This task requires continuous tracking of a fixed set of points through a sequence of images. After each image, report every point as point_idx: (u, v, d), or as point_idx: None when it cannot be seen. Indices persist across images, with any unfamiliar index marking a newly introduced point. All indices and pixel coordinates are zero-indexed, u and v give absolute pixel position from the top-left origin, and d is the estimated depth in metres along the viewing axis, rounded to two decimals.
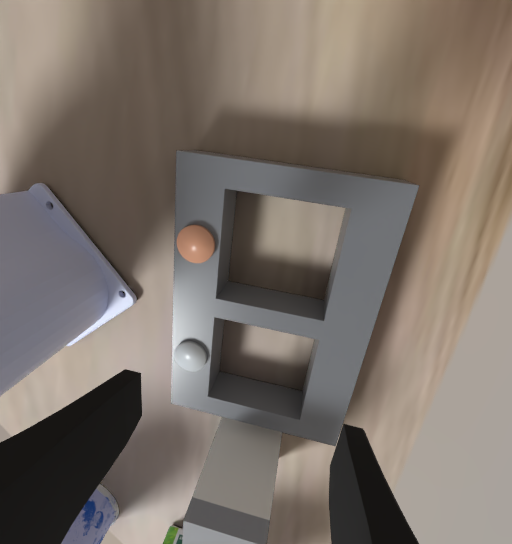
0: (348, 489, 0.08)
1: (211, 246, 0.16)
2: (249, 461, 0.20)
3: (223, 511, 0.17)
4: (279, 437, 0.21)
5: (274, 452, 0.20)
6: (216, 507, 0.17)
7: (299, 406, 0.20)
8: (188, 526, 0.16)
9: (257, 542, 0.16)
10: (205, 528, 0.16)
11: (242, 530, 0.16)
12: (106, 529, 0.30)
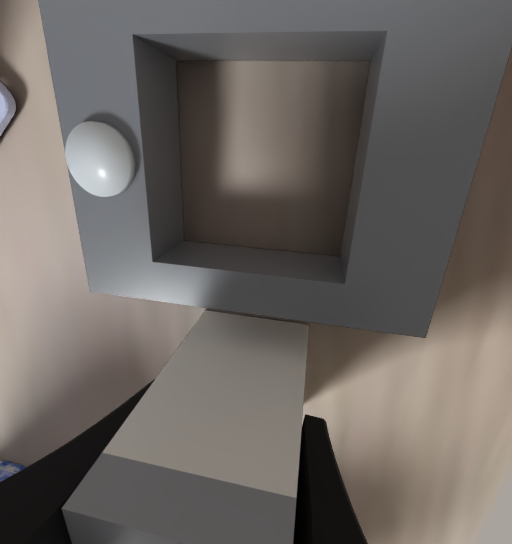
0: (303, 476, 0.08)
1: None
2: (245, 383, 0.09)
3: (175, 481, 0.07)
4: (303, 347, 0.11)
5: (296, 368, 0.10)
6: (158, 471, 0.07)
7: (339, 270, 0.10)
8: (78, 524, 0.06)
9: None
10: (120, 528, 0.06)
11: (222, 527, 0.06)
12: None
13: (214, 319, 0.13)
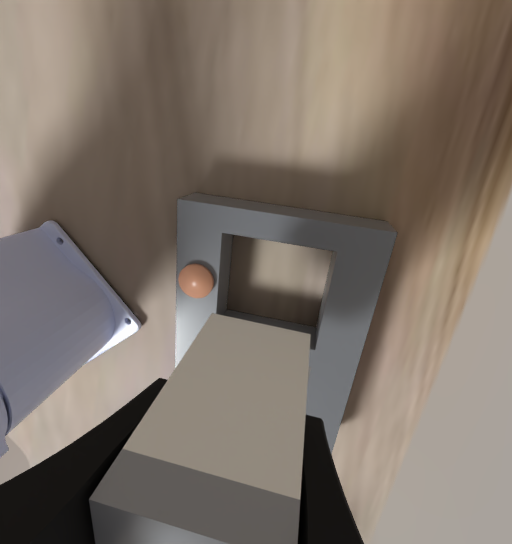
0: None
1: (210, 283, 0.17)
2: (252, 389, 0.10)
3: (191, 479, 0.07)
4: (305, 356, 0.12)
5: (299, 377, 0.11)
6: (175, 469, 0.07)
7: None
8: (103, 513, 0.07)
9: None
10: (142, 519, 0.06)
11: (235, 523, 0.06)
12: None
13: (220, 322, 0.13)
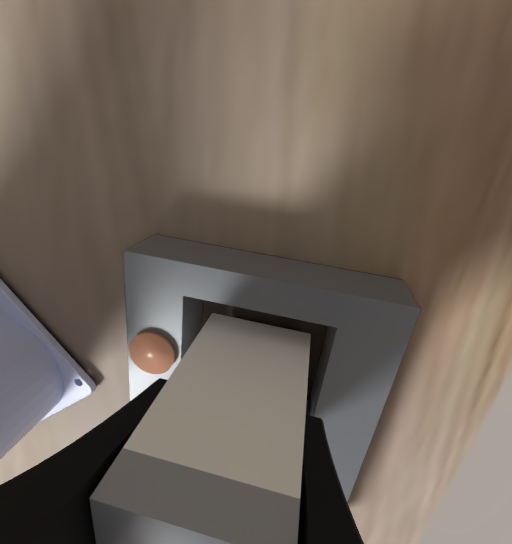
0: None
1: (170, 358, 0.13)
2: (252, 388, 0.10)
3: (191, 478, 0.07)
4: (305, 356, 0.12)
5: (299, 377, 0.11)
6: (175, 468, 0.07)
7: None
8: (103, 512, 0.07)
9: None
10: (142, 518, 0.06)
11: (235, 522, 0.06)
12: None
13: (220, 322, 0.13)
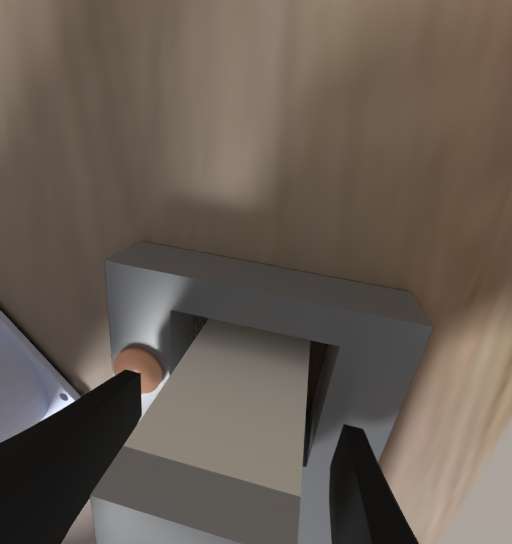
0: (348, 489, 0.08)
1: (157, 376, 0.12)
2: (252, 387, 0.10)
3: (191, 476, 0.07)
4: (305, 356, 0.12)
5: (299, 376, 0.11)
6: (176, 466, 0.07)
7: None
8: (103, 510, 0.07)
9: None
10: (142, 515, 0.06)
11: (235, 519, 0.06)
12: None
13: (221, 322, 0.13)
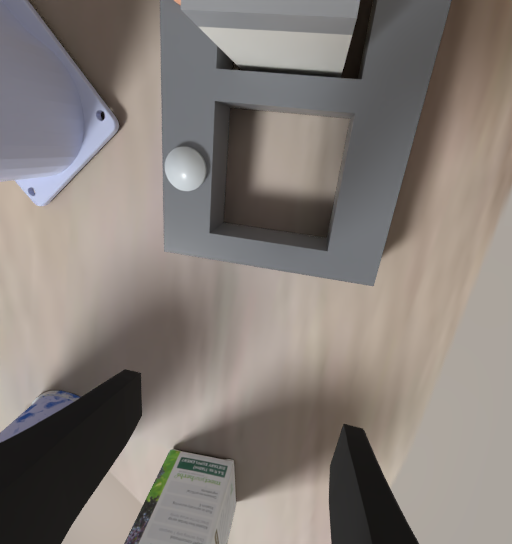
0: (348, 489, 0.08)
1: None
2: None
3: None
4: None
5: None
6: None
7: (325, 244, 0.16)
8: None
9: None
10: None
11: None
12: None
13: None
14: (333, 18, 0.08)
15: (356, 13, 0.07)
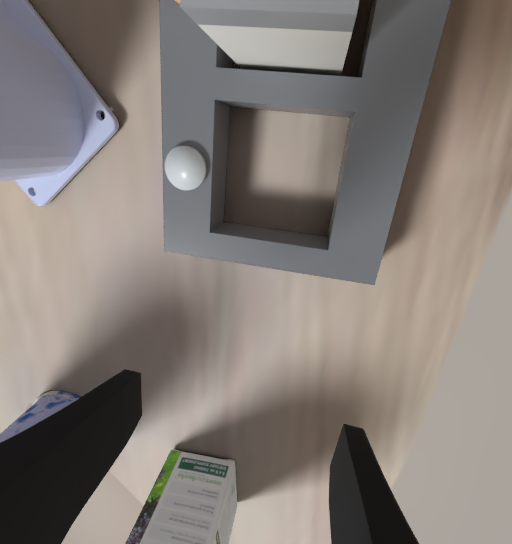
0: (348, 489, 0.08)
1: None
2: None
3: None
4: None
5: None
6: None
7: (325, 243, 0.16)
8: None
9: None
10: None
11: None
12: None
13: None
14: (333, 15, 0.08)
15: (356, 9, 0.07)
